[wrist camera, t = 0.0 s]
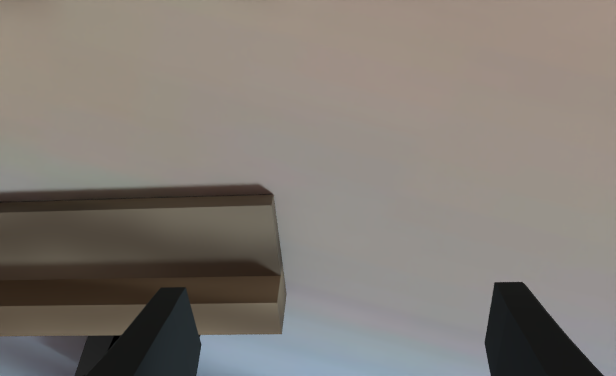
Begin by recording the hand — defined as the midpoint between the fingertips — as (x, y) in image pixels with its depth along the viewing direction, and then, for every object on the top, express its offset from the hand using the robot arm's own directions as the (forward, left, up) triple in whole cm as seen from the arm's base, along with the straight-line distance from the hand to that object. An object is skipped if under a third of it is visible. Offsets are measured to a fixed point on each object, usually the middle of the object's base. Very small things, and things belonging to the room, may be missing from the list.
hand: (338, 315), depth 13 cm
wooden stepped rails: (-14, +11, -10) cm, 20 cm away
